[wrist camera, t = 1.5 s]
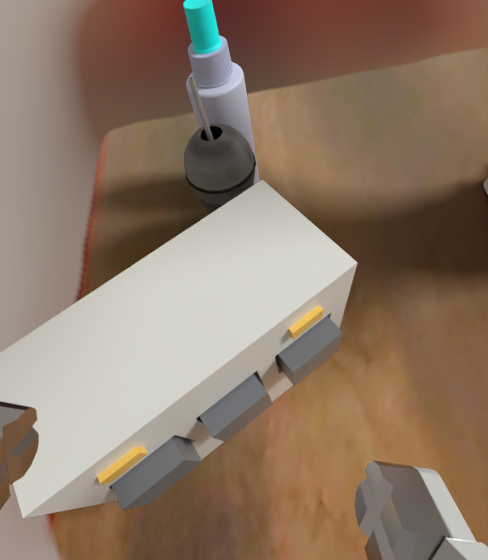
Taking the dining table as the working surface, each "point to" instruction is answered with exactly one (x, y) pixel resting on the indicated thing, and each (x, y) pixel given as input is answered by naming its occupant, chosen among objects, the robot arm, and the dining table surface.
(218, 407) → the key middle
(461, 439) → the dining table surface
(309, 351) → the key
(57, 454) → the key panel
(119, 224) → the dining table surface
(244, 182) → the beverage cup
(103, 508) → the dining table surface
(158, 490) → the key
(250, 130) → the spray bottle
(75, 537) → the dining table surface
